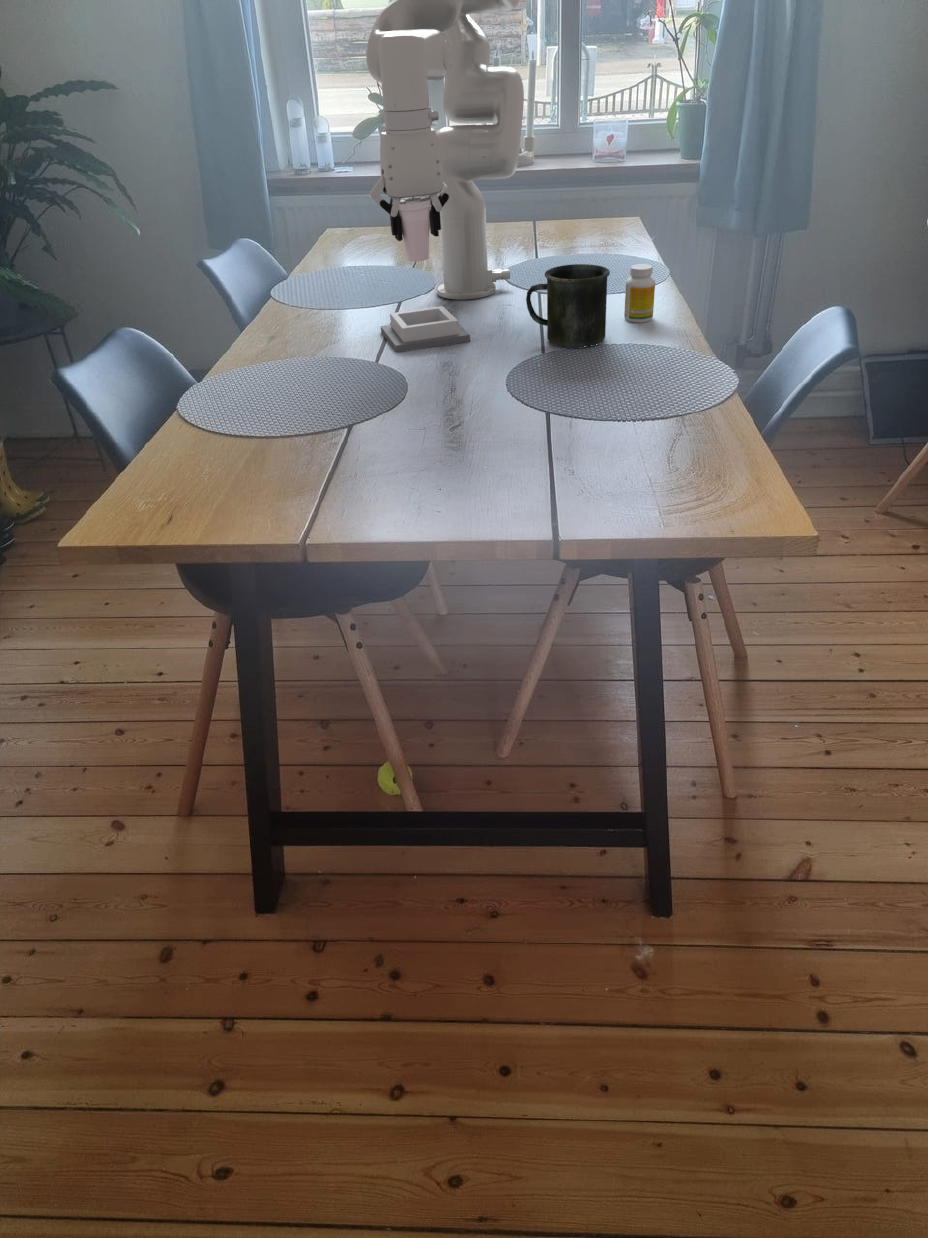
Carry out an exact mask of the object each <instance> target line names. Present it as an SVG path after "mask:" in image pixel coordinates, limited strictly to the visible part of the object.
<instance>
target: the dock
mask: <svg viewBox="0 0 928 1238" xmlns="http://www.w3.org/2000/svg"><path fill="white" fill-rule="evenodd" d="M389 319H390V324H386V325H381V326H380V332H381V334H382V335H383V337H384V338H385V340H387V342H388V344H390V346H391V348H392V349H393V350H394V351H395V352H396V353H401V352H408V351H414V350H415V351H416V350H419V349H420V350H421V349H428V348H435V347H441V346H448V345H455V344H461V343H467V342H471V334H470V333H469V332H468V331H467V330H466V329H465V328H464V327H462V326H461V325H460V323H459V320H458V319H457V318H456V317H455V316H454V315H453V314H451V312H450V311H448V309H446V308H445V307H444V305H441V306H435V307H434V306H433V307H425V308H419V309H413V310H405V311H399V312H397V311H396V312H390V313H389Z"/></svg>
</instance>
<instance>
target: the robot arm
mask: <svg viewBox="0 0 928 1238" xmlns="http://www.w3.org/2000/svg"><path fill="white" fill-rule="evenodd" d="M520 2H521V0H393V2H391V3H390V4H389V5H387V6H386V7H385V8H384V9H383V10H382V11H381V12H380V13H379V14H378V15H377V17H376V18H375V21H374V23H373V26H372V29H371V30H370V33H369V38H368V41H367V43H366V44H367V45H366V55H365V57H366V59H365V60H366V65H367V69H368V72H369V74H370V76H371V77H372V78H373V80H375V81H376V82H378V83H380V84H381V91H382V92H381V93H382V103H383V105H382V106H383V114H384V116H383V117H384V122H385V123H384V124H385V125H384V128H385V131H382V132H381V133H380V145H379V147H380V149H379V153H380V154H379V156H380V157H379V161H380V163H379V164H380V165H379V166H380V177H379V179H378V180H377V181H376V183H375V184H374V185H373V187H372V188H371V190H370V191H369V193H368V196H369V197H370V198H371V200H372V201H374V203H376V204H377V205H379V206H380V207H381V208H382V209H383V210H384V211H385V212H386V213H388V214H389V217H390V221H389V222H390V231H391V235H392V236H394V239H396V241H398V242H401V241H404V239H403V234H402V225H401V217H400V216H399V213H398V209H399V204H400V202H401V199H404V198H411V197H427V198H430V200H431V206H430V209H429V233H430V234H431V235H432V236H434V237H439V236H440V245H441V259H442V276H443V283H441V284H440V285H438V287H437V288H436V293H437V295H438V296H439V297H440V298H444V299H448V300H462V301H463V300H472V299H473V300H474V299H475V300H476V299H481V298H485V297H488V296H491V295H493V294H495V292H496V291H497V290H496V289H497V286H496V282H497V281H505V280H510V279H511V272H510V271H511V270H509V269H502V270H501V269H500V268H498V269H491V268H490V267H489V266H488V240H487V238H488V237H487V217H486V216H487V213H486V202H485V201H486V200H485V198H484V195H483V194H482V192H481V190H480V189H479V187H478V186H477V185H476V183H475V181H476V180H497V179H498V180H499V179H500V180H501V179H508V178H510V177H513V175H514V174H515V172H516V171H517V169H518V166H519V165H518V164H519V160H520V159H519V158H520V153H521V152H520V151H521V149H520V148H521V140H522V139H521V137H522V128H523V117H524V105H525V104H524V103H525V100H524V99H525V91H524V90H525V89H524V84H523V79H522V77H521V74H520V73H519V71H517V70H516V69H515V68H513V67H508V66H491V67H490V56H491V45H490V42H489V39H488V38H487V36H486V34H485V33H484V31H483V30H482V29H481V27H480V26H479V25H478V24H477V23H476V22H475V21H474V19H472V17H471V16H470V15H471V14H473V15H474V14H491V13H493V14H494V13H505V12H507V13H508V12H510V11H513V10H515V9H516V8H517V7H518V5H519V4H520ZM443 79H444V83H443V85H444V86H443V99H442V107H443V112H444V115H445V117H446V119H448V120H449V121H451V122H452V123H456V124H458V125H456V124H455V125H449V126H444V127H442V128H440V129H438V130H437V131H436V130H435V128H432V126H433V125H432V124H433V122H435V121H439V118H440V117H439V116H440V115H439V112H438V111H437V110H436V111H435V110H432V109H431V107H430V96H429V84H428V83H434V82H438V81H441V80H443ZM381 193H383V194H385V195H387V196H388V197H389V201H388V202H387V201H386V200H385V199H384V198H383V197H382V196H381ZM439 231H440V235H439Z"/></svg>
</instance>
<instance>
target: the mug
mask: <svg viewBox="0 0 928 1238" xmlns="http://www.w3.org/2000/svg"><path fill="white" fill-rule="evenodd" d="M610 273H611V271H610V269H608V268H607V267H604V266H602V265H598V264H586V263H583V264H582V263H576V264H575V263H574V264H573V263H572V264H564V265H558V266H554V267H551V268H549V269H547V270H546V271H545V272H544V277H545V278H546V283H537V284H535V285H532V286H530V288H529V289H528V290H527V291H526V298H525V300H526V307H527V308H526V309H527V311H528V313H529V316H530V317H531V318H532V320H533V321H534V322H536V323H537V324H538V325H539V324H540V325H543V326H546V328H547V329H546V330H547V333H546V334H547V335H546V337H547V340H548V342H549V343H550V344H551V345H553V346H556V347H560V348H566V349H580V348H579V347H584V346H591V345H595V346H597V345H596V344H598V345H599V344H602V343H603V342H604V340H605V339H606V330H607V329H606V325H607V324H606V322H607V296H608V294H607V293H608V277H609V276H610V275H611V274H610ZM537 291H546V293H547V294H546V296H547V297H546V298H547V301H546V305H547V306H546V308H547V310H546V312H547V313H546V315H547V319H546V318H543V317H541V316H539V315H538V314H537V313H536V311H535V309H534V307H533V305H532V299H531V296H532V294H533V292H537ZM591 347H592V346H591Z"/></svg>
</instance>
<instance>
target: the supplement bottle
mask: <svg viewBox="0 0 928 1238" xmlns="http://www.w3.org/2000/svg"><path fill="white" fill-rule="evenodd" d="M653 268H654V266H653V265H651V264H648V263H640V264H639V263H638V264H633V265H631V266H630V271H629V273H630V277H628V278H627V279H626V282H625V296H624V312H623V313H624V316H623V317H624V320H625V321H627V322H629V323H637V324H638V323H639V324H642V323H647V322H650V321H652V320H653V317H654V304H655V290H656V281H655V278H654V277H653V276H652V274H653V271H654V270H653Z"/></svg>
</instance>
